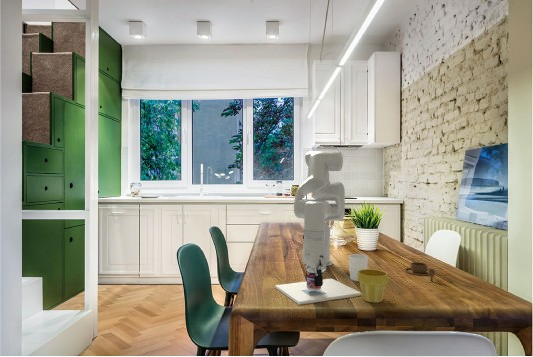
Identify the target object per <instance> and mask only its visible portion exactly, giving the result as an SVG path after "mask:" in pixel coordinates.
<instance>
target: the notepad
mask: <svg viewBox="0 0 533 357" xmlns="http://www.w3.org/2000/svg"><path fill="white" fill-rule="evenodd" d="M274 285H275V284H274ZM274 288H275V289H276V290H277V291H279V292H280V293H282V294H283V295H284V296H285V297H287V298H288V299H290V300H291V301H293V302H294V303H295V304H296V305H299V306H300V305H306V304H312V303H313V304H314V303H319V302H320V303H321V302H327V301H333V300H339V299H340V300H341V299H347V298H354V297H355V298H356V297H359V296H361V297H362V291H361V292H360V291H358V290H356V289H354V288H353V287H350V286H348V285H346V284H344V283H342V282H340V281H338V280H336V279H333V278H326V279H325V278H324V279H323V285H322V286H321V289H320V290H317V291H314V290H309V289H307V281H300V282H292V283H283V284H276V285H275V286H274Z"/></svg>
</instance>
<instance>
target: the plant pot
mask: <svg viewBox="0 0 533 357" xmlns="http://www.w3.org/2000/svg"><path fill="white" fill-rule="evenodd" d="M357 282H359V285H360V286H359V287H360V291H361V297H362V299H363V301H365V302H367V303H368V302H369V303H381V302H382V301H383V298H384V295H385V291H386V290H385V289H386V285H387V284H388V283H389V273H388V272H387V271H385V270H380V269H375V268H374V269H373V268H367V269H362V270H359V271H358V281H357Z"/></svg>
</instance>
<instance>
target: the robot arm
mask: <svg viewBox="0 0 533 357" xmlns="http://www.w3.org/2000/svg"><path fill="white" fill-rule="evenodd" d="M304 156H305V157H304V161H305V164H306V166H307V169H308V170H307V179H306V180H305V181H303V182H302V183H301V184H300V185H299V186H298V188H297V189H296V191H295V194H294V203H293V213H294V215H295V217H296V218H298V219H304V220H303V221H304V223H303V226H304V227H303V228H304V229H303V230H304V231H303V241H302V251H301V252H302V255H301V258H302V259H301V262H302V263H303V264H304V266H305V282H307V268H309V266H310V267H313V268H314V269H315V275H314V286H315V287H317V286H322V285H323V280H324V279H323V278H324V273H325V271H326V270H327V267H330V266H333V265H334V261H333V260H331V228H330V226H329V225H328V224H327V223H326V221H327V222H328V221H330V222H331V221H333V222H340V221H342V220H344V218H345V213H346V212H345V210H346V209H345V204H346V203H345V202H346V201H345V199H346V197H345V196H346V195H345V194H346V189H345V186H344V184H343V183H342V182H340V181H331V180H330V172H340V171H342V168H343V165H344V158H343V156H344V155H343V154H342V152H341V151H339V150H338V151H337V150H328V151H327V150H326V151H324V150H315V151H307V152H306V153H305V155H304ZM309 194H312V198H313V199H309V198H308V199H303V198H304V197H305V196H307V195H309ZM318 265H319V266H318ZM317 266H318V267H317ZM317 268H320V269H319V270H318V269H317Z"/></svg>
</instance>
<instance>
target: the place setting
mask: <svg viewBox="0 0 533 357" xmlns="http://www.w3.org/2000/svg"><path fill="white" fill-rule="evenodd" d="M410 271H412V272H410ZM398 272H399V273H401V271H398ZM404 272H405V273H406V274H409V275H413V276H418V277H419V276H420V277H422V276H423V277H430V278H429V279H430V280H429V281H430V282H433V281H434V279H433V278H434V277H435V275H436V270H435V269H433V268H432V269H431V268H428V264H427V263H424V262H420V261H419V262H418V261H417V262H416V261H415V262H414V261H413V262H411V263H410V267H407V268H404ZM427 272H428V273H427Z"/></svg>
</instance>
